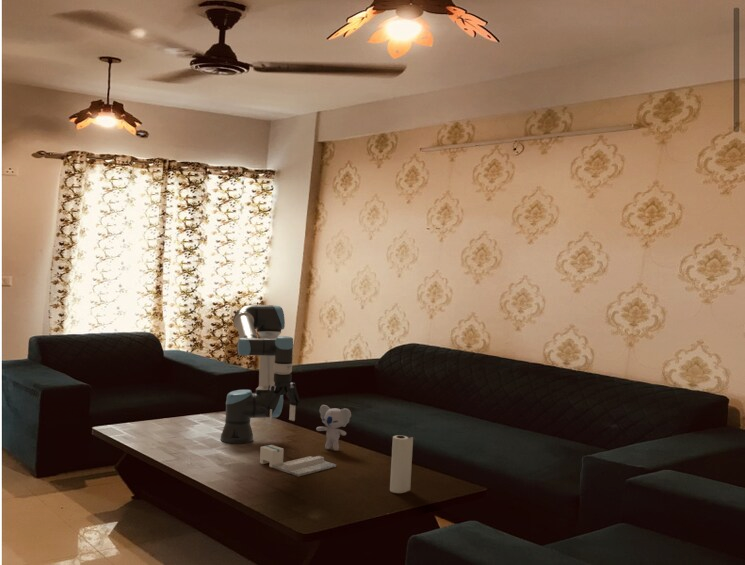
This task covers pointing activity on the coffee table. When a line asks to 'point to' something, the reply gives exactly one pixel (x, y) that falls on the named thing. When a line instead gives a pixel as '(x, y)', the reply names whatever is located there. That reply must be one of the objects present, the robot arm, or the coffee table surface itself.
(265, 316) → the robot arm
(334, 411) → the toy
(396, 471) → the paper towel roll
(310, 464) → the grey flat board
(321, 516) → the coffee table surface
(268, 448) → the block
